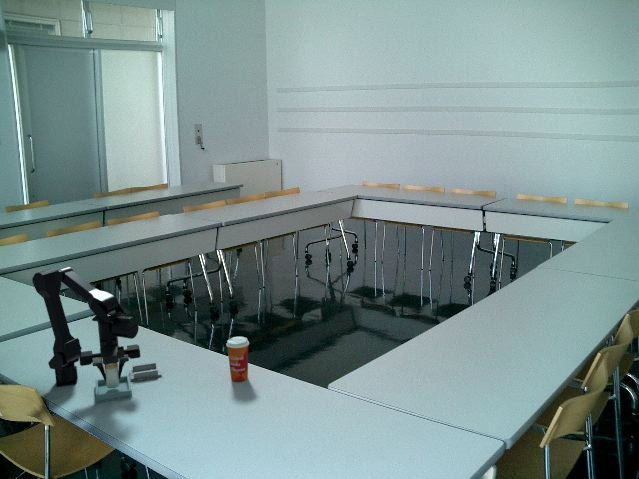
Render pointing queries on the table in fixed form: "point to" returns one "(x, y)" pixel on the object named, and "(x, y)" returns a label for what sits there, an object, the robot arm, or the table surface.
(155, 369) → the clip rails
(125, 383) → the tray
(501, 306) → the table surface
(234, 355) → the paper cup
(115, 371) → the cylinder
